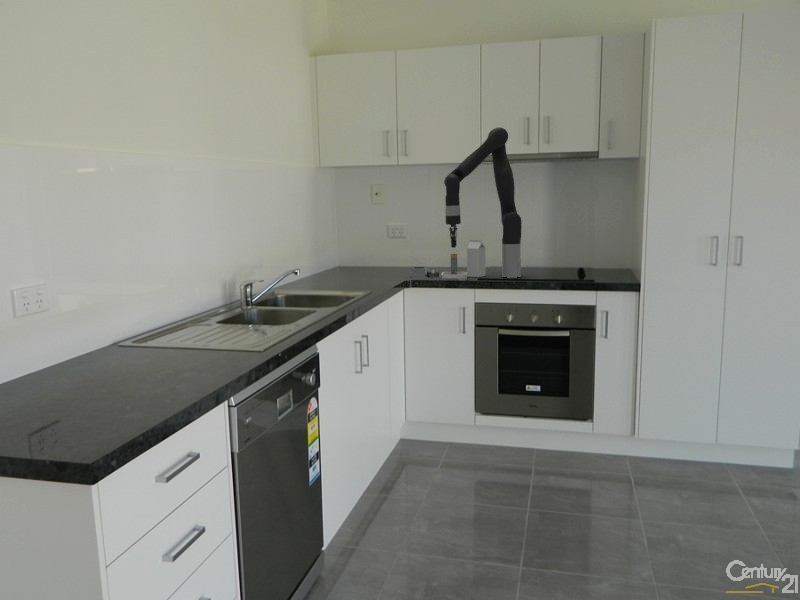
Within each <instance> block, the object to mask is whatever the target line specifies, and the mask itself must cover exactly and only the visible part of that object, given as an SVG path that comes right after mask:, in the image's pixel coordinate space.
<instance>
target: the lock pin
mask: <svg viewBox="0 0 800 600" xmlns="http://www.w3.org/2000/svg"><path fill="white" fill-rule="evenodd" d="M450 272H451V274H457V272H458V253H450Z"/></svg>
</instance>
